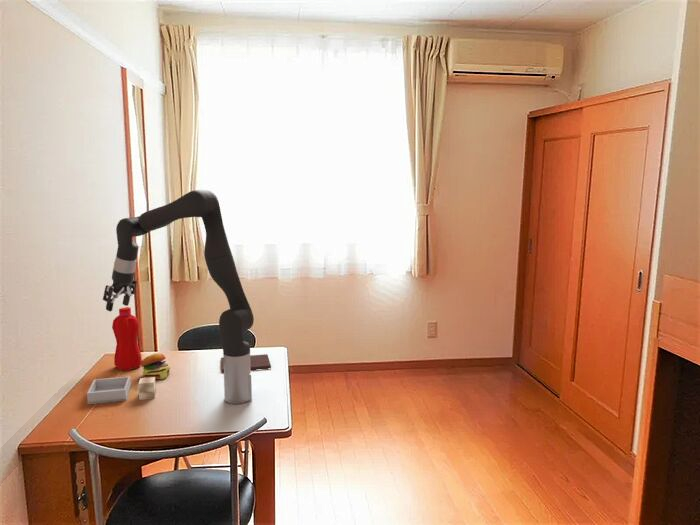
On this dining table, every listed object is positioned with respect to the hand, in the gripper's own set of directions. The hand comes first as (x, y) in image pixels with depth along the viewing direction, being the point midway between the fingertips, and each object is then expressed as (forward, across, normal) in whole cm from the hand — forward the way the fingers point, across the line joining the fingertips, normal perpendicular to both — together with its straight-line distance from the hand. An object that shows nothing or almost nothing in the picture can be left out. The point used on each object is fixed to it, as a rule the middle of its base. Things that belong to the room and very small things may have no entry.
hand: (117, 307), depth 195 cm
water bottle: (+28, +9, -3) cm, 30 cm away
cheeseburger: (+24, +5, -19) cm, 31 cm away
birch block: (+20, -12, -28) cm, 37 cm away
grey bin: (+24, -16, -16) cm, 33 cm away
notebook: (+16, +27, -45) cm, 55 cm away
